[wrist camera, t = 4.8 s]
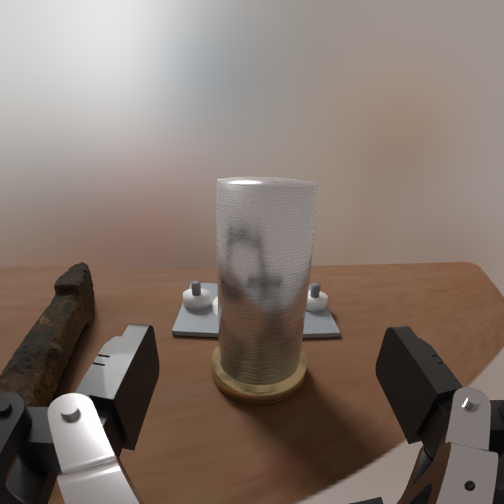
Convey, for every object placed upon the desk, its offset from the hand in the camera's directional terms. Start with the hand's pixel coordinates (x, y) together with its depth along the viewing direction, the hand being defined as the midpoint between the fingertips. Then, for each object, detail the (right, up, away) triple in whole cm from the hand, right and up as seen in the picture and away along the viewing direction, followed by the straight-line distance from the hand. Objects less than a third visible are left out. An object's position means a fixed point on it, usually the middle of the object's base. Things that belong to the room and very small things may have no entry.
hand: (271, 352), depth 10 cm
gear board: (0, -2, +17) cm, 17 cm away
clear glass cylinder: (0, -5, +9) cm, 10 cm away
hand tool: (-15, -5, +9) cm, 18 cm away
